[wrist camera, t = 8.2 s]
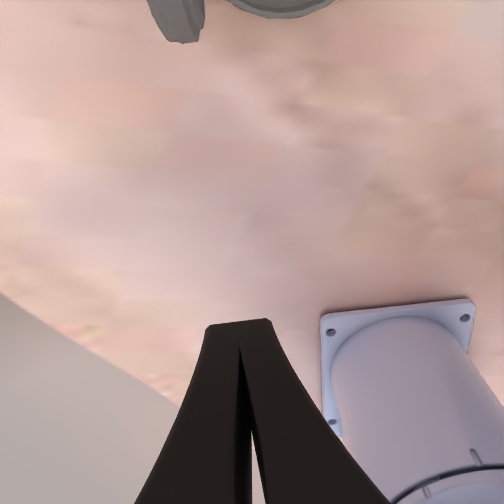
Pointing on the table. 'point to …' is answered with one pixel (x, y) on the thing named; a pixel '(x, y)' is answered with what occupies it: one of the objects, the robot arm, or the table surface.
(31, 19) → the table surface
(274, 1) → the pocket watch
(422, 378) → the robot arm
